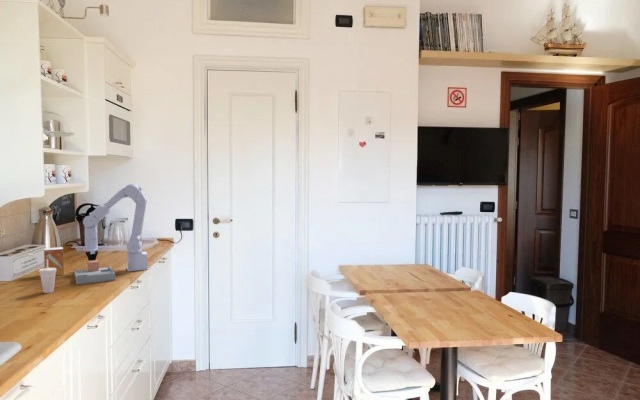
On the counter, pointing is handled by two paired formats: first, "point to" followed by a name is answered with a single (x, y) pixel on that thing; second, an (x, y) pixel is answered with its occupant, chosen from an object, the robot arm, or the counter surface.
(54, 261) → the small box
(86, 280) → the trap board
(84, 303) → the counter surface
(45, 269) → the smoothie
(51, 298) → the counter surface
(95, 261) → the block
